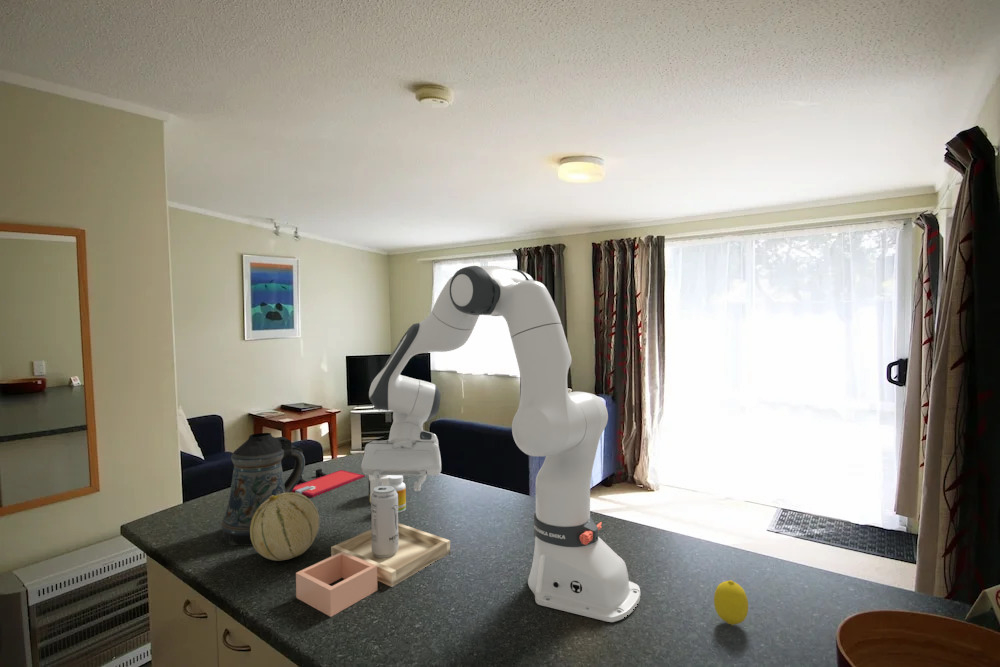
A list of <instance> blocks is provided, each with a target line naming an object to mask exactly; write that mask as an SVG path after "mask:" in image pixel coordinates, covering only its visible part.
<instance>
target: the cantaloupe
mask: <svg viewBox="0 0 1000 667" xmlns="http://www.w3.org/2000/svg"><path fill="white" fill-rule="evenodd" d="M319 528H320V515H319V512H318V509H317V507H316V505H315V504H314V502H313V501H312V500H311V499H309V497H307V496H304V495H302V494H299V493H291V492H289V493H282V494H278V495H276V496H274V495H272V496H270V498H269V499H268V500H266V501H265V502H264V503H262V504H261V505H260V506H259V507H258V509H257V510H256V512H255V514H254V516H253V518H252V521H251V526H250V538H251V541H252V546H253V548H254V549H255V551H256V552H257V553H258V554H259V556H261V557H263V558H265V559H267V560H271V561H274V562H276V561H277V562H282V561H286V560H291V559H293V558H296V557H298V556H301V555H303V554H304V553H305V552H306V551H307V550H309V548H310V547H311V546H312V545H313V543H314V541H315V539H316V537H317V535H318V532H319Z"/></svg>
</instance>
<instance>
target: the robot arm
mask: <svg viewBox="0 0 1000 667" xmlns="http://www.w3.org/2000/svg"><path fill="white" fill-rule="evenodd" d="M480 316H491V317H492V316H493V317H503V318H504V320H505V322H506V324H507V327H508V332H509V335H510V338H511V343H512V346H513V350H514V353H515V357H516V362H517V365H518V370H519V375H520V376H519V378H520V398H519V405H518V408H517V411H516V412H515V414H514V416H513V419H512V422H511V423H512V424H511V432H512V437H513V440H514V442H515V444H516V446H517V447H518V449H519V450H520V451H521V452H523V453H524V454H525V455H527V456H530V457H545V459H544V461H543V463H542V465H541V467H540V469H539V471H538V472H537V475H536V478H535V513H533V536H534V550H533V556H532V557H533V558H532V562H531V563H532V565H531V569H530V573H529V575H528V578H527V584H528V587H529V590H531V592H532V593H533V595H534V600H535V603H536V604H537V605H538V606H542V607H547V608H551V609H555V610H559V611H564V612H567V613H571V614H575V615H579V616H584V617H587V618H592V619H595V620H600V621H603V622H607V623H608V622H609V623H615V622H618V621H621V620H623V619H625V618H627V617H628V616H629V615H630V614H631V613H633V612H634V610H635V609H636V608H637V606H638V605H639V603H640V602H641V601H640V600H641V598H640V596H642V595H641V589H640V586H639V585H638V584H637V583H635V582H633V581H630V579H629V572H628V568H627V564H626V562H625V561H624V559H623V558H622V557H621V556H619V555H618V554H617V552H615V551H614V550H613V549H612V548H611V547H610V546H609V544H607V543H606V542H605V541H604V540H603V539H602V538H600V536H599V531H600V530H601V529H602V523H603V522H602V521H600V522H599V523H595V521H594V520H593V517H592V515H591V482H592V474H593V467H594V463H595V459H596V455H597V450H598V446H599V443H600V439H601V436H602V434H603V431H604V430H605V428H606V426H607V424H608V421H609V414H608V408H607V405H606V404H605V402H604V400H602V399H601V398H600V397H599V396H597V395H596V394H594V393H592V392H591V393H590V392H585V391H578V390H577V391H571V392H569V388H568V374H569V369H570V367H571V365H572V355H571V351H570V347H569V344H568V340H567V337H566V334H565V331H564V326H563V324H562V321H561V317H560V315H559V312H558V310H557V307H556V305H555V302H554V300H553V298H552V296H551V294H550V292H549V290H548V289H547V286H545V284H543V283H542V282H541V281H538V280H535V279H534V278H533V277H532V276H531V275H530V274H528V273H527V272H525V271H523V270H520V269H516V268H513V269H511V268H507V267H500V266H497V265H485V266H484V265H483V266H478V265H470V266H465V267H463V268H460V269H459V270H456V272H455V273H454V274H453V276H451V277H450V278H449V279H448V281H447V282H446V283H445V285H444V286H443V288H442V290H441V291H440V292H439V295H438V296H437V299H436V301H435V303H434V305H433V307H432V310H431V312H430V313H429V314H428V315H427V317H426V318H424V319H423V320H422V321H420V322H418V323H417V322H416V323H413V324H412V325H411V326H410V327H409V328H408V329H407V330H406V332H405V333H404V334H403V336H402V337H401V339H400V340H399V342H398V344H397V345H396V347H395V348H394V349H393V352H392V353H391V355H390V356H389V357H388V359H387V360H386V362H385V364H384V366H383V367H382V368H381V369H380V371H378V373H377V375H376V376H375V377H374V379H373V380H372V381H371V383H370V387H369V391H368V399H369V401H370V403H371V404H372V405H373V407H374V408H376V410H381V411H387V412H389V411H390V412H393V413H392V420H393V421H392V425H390V426H391V427H390V430H389V435H388V439H387V440H386V439H385V440H383V439H382V440H372V441H370V442H368V443H366V444H365V446H364V451H363V453H364V455H363V457H362V461H361V465H360V468H361V471H362V473H363V475H365V476H368V475H374V477H375V480H376V482H377V483H376V487H377V486H381V485H384V484H383V482H381V481H379V479H380V478H381V475H403V476H420V478H419V479H418V481H414V482H413V484H414V485H413V491H415V492H421V491H422V490H421V489H422V485H423V483H424V482H425V481H427V478H428V477H427V476H438V475H440V474H441V472H442V458H441V451H440V446H439V439H438V436H437V435H436V434H435V433H433V432H430V431H426V430H424V427H423V426H424V423H427V422H429V421H430V420H432V419H433V418H434V417H436V416H437V414H438V413H439V410H440V405H441V396H442V395H441V391H440V388H439V387H438V386H437V384H435V383H432V382H429V381H426V380H422V379H416V378H413V377H409V376H406V375H402V374H401V373H402V371H403V370H404V369H405V367H406V366H407V364H408V362H409V361H410V359H412V357H414V356H416V355H419V354H423V353H434V352H435V353H436V352H437V353H438V352H440V353H445V352H451V351H454V350H457V349H460V348H461V347H462V346H464V345H465V344H466V342H467V341H468V340H469V338H470V337H471V335H472V332H473V331H474V329H475V326H476V323H477V321H478V319H479V317H480ZM637 604H638V605H637ZM635 607H636V608H635ZM633 609H634V610H633ZM627 615H628V616H627ZM624 617H625V618H624Z"/></svg>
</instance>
